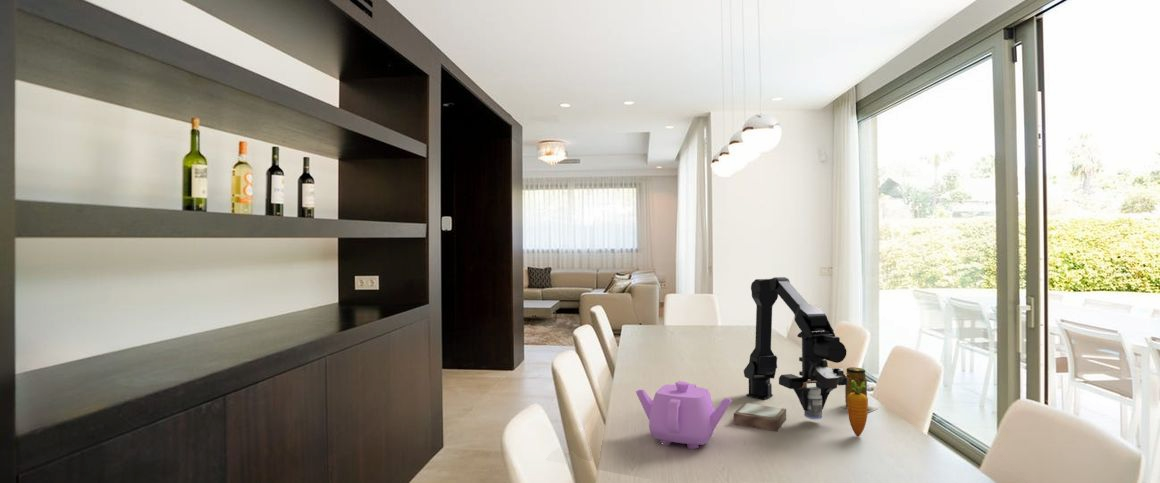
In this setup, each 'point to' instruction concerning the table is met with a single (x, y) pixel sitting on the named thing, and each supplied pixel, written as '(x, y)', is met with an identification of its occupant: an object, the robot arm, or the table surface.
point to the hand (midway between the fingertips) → (813, 409)
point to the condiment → (858, 377)
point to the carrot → (857, 408)
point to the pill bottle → (814, 403)
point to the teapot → (682, 414)
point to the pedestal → (760, 416)
